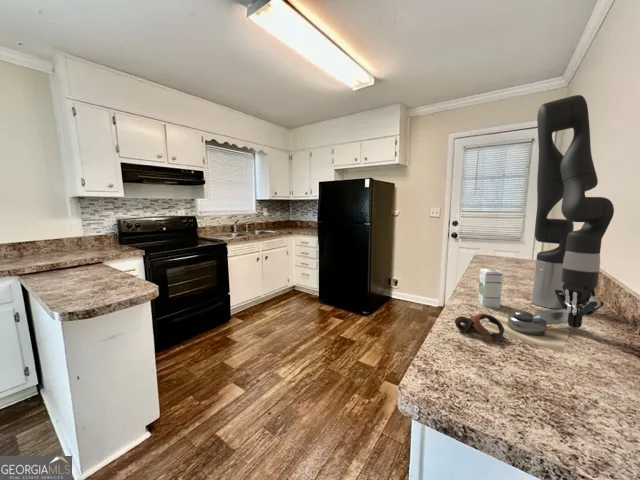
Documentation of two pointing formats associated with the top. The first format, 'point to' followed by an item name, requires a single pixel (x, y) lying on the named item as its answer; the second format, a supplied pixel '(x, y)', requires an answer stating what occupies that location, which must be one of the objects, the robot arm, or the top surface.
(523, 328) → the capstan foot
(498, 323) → the brown curved loop piece
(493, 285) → the syrup box
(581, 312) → the robot arm
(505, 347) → the top surface
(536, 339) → the beige flat square slab
